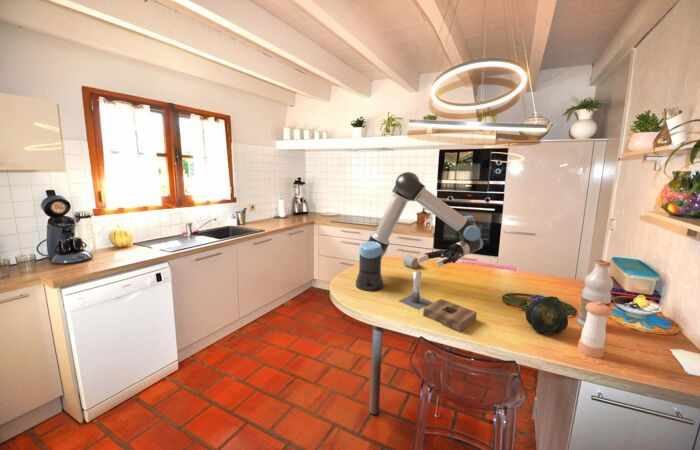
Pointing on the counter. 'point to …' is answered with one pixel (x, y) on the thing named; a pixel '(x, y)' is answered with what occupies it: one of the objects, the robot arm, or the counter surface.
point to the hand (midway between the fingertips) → (427, 262)
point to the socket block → (450, 315)
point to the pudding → (537, 297)
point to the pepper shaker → (594, 330)
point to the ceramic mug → (410, 261)
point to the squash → (547, 315)
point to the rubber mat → (418, 306)
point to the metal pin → (416, 287)
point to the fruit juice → (596, 289)
